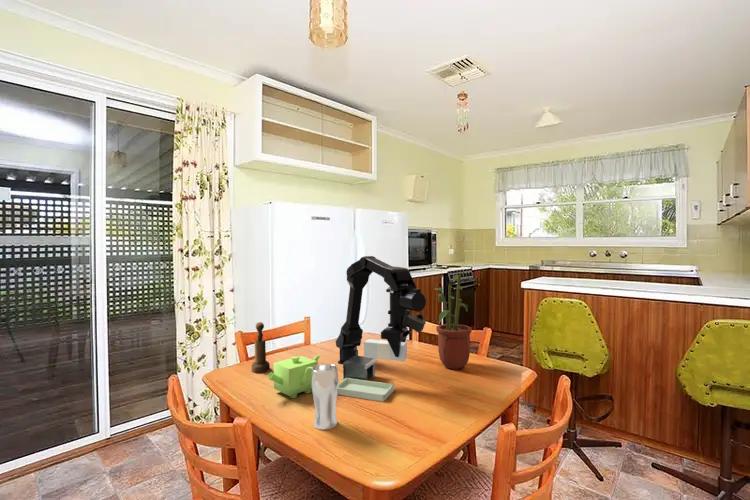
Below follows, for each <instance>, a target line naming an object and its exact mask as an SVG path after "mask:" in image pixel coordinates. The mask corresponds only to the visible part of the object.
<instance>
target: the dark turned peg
mask: <svg viewBox="0 0 750 500" xmlns="http://www.w3.org/2000/svg"><path fill="white" fill-rule="evenodd" d="M264 327H265V324H264V323H263V322H262V321H261V322H256V324H255V329H256V331H257V334H256V340H254V362H253V363H252V364H251V373H255V374H261V373H266V372H268V371H269V370H270V369H271V368H270V362H269V361H268V360H267V353H266V348H267V347H266V339H263V337H264V333H263V330H264Z"/></svg>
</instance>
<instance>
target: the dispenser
mask: <svg viewBox="0 0 750 500" xmlns="http://www.w3.org/2000/svg"><path fill="white" fill-rule="evenodd" d="M376 362H377V358H367V357H364V355H363V356H362V355H358V356H353V357H351V358H350V359H348V360H347V361H345V362H344V363H342V370H343V371H342V373H343V374H342V375H343V376H342V377H343V378H342V380H344V379H345V378H352V379H359V380H366V381H368V378H370V379H373V378H375V376H376Z"/></svg>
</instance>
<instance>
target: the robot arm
mask: <svg viewBox="0 0 750 500" xmlns="http://www.w3.org/2000/svg"><path fill="white" fill-rule="evenodd" d="M372 273H375V274H377V275H378V276H380V277H382V278H383V282H384V283H385V284H387V285H388V286H389V287H388V288H386V290H385V292H386V293H389V310H387V314H388V315H389V323H387V327H386V328H384V329H383V330H382V331H380V340H386V341H388V343H389V345H390V346H391V349H392V351H393V353H394V355H395V357H399V353H400V346H401V342H406V341H407V338H408V336H409V335H410V334H411V333H412V332H413V331H415V332H417V333H421V332H422V331H423V330H424V328H425V325H426V323H427V321H426V319H425V316H424V314H422V313H420V312H421V311H423V310H424V309H425V307H426V305H427V299H426V296H425V295H424V293H422V290H421V288H417V286H416V282H415V280H414V279H413V277H412V274H411V273H410V270H409V269H408V268H407V267H401V266H392V265H390V264H388V263H386V262H385V261H382V260H380V259H379V258H377V257H375V256H372V255H367V256H364V255H363V256H362V257H360V259H358V260H357V261H355V262H353V263H352V264H351V265H350V266H348V267H347V269H346V281H347V284H348V285H349V292H348V294H349V295H348V300H347V301H348V303H347V311H346V318H345V319H346V320H345V322H344V323H343V325H342V326H341V327H340V332H339V335H338V337H337V338H336V340H335V347H337V348H338V349H339V360H338V361H337V363H338V364H343V363H344V362H345V361H347V360H348V359H350V358H351V357H353V356H359V350H358V347H361V344H362V339H363V332H364V330H363V328H362V327H361V325H360V324H359V323H360V315H361V307H362V299H363V289H364V288H365V287H366V285H367V284H368V282H369V279H370V276H371V274H372ZM411 311H413V312H419V313H418V314H417V315H412V314H411ZM408 329H409V330H408Z"/></svg>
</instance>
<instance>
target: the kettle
mask: <svg viewBox="0 0 750 500" xmlns="http://www.w3.org/2000/svg"><path fill="white" fill-rule="evenodd" d="M322 355H323V354H321V353H320V354H317V355H315V356H314V357H313V359H312V358H309V357H306V356H303V355H299V356H297V355H296V356H295V355H294V356H292V357H291V358H287V359H283V360H280V361H276V362H273V372H272V371H271V372H270V373H268V375H267V380H270V381H272V382H273V389H275V390H277V391H279V392H280V394H285V395H286V396H288V397H289V398H290V399H296V398H297V397H298V394H299V393H302V392H304V393H305V394H310V393H312V368H313V367H314V366H316V365H319V364H318V361H319V359H320V357H321V356H322Z"/></svg>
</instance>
